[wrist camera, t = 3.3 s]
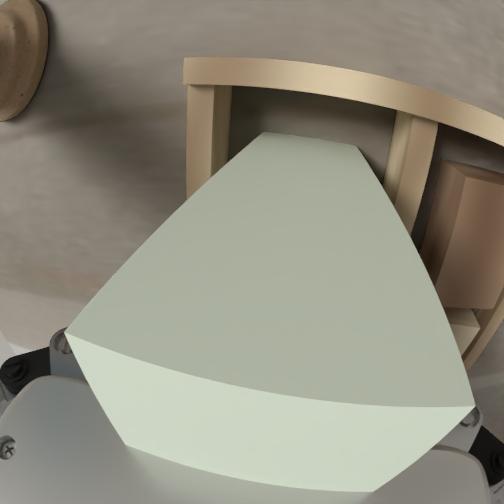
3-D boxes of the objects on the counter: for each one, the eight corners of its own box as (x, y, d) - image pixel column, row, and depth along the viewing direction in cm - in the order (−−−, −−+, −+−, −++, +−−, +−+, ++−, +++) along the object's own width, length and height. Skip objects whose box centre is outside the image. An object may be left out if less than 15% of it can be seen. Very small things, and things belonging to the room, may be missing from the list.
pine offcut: (463, 293, 15) (480, 328, 12) (427, 352, 17) (436, 387, 15) (406, 281, 15) (419, 318, 13) (375, 345, 18) (379, 382, 15)
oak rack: (551, 149, 9) (585, 167, 7) (445, 378, 18) (453, 411, 15) (211, 62, 11) (183, 57, 9) (207, 346, 20) (193, 380, 18)
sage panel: (356, 145, 12) (476, 406, 2) (313, 333, 18) (285, 538, 8) (263, 131, 13) (63, 332, 3) (246, 322, 18) (182, 517, 8)
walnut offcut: (503, 173, 11) (535, 194, 8) (473, 275, 14) (492, 309, 11) (439, 157, 12) (466, 176, 9) (413, 269, 15) (427, 305, 12)
